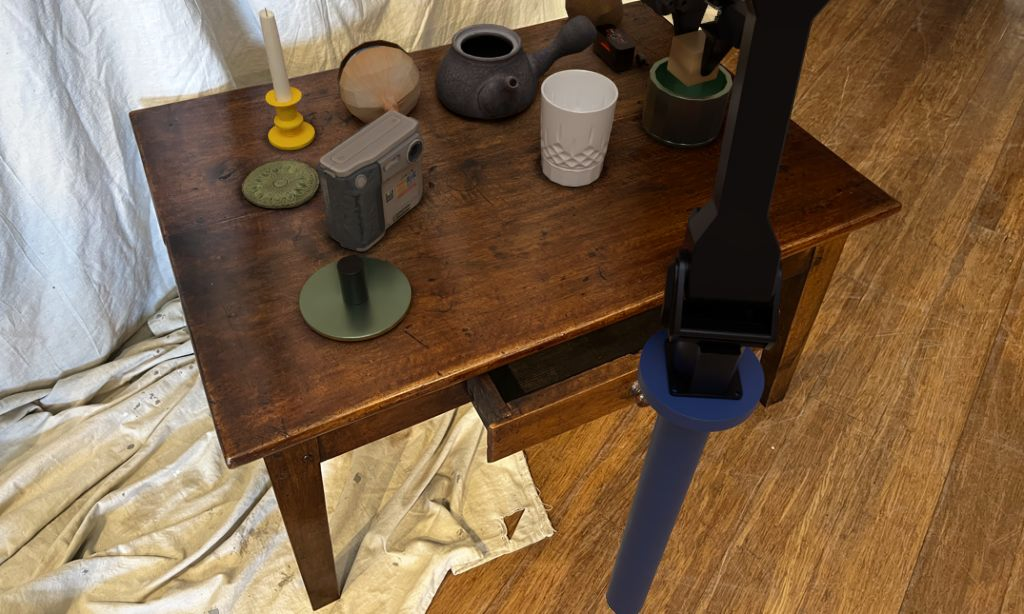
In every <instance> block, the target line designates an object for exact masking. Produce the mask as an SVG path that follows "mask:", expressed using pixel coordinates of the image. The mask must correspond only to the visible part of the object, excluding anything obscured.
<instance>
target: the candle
mask: <svg viewBox="0 0 1024 614" xmlns="http://www.w3.org/2000/svg"><path fill="white" fill-rule="evenodd" d="M258 16H259V23H260V28H261V29H260V30H261V35H262V38H263V39H262V40H263V43H264V48H265V53H266V57H267V62H268V66H269V72H270V76H271V81H272V85H273V89H271V90H269V91H267V93H266V94H265V102H266V103H267V104H268V105H270V106H272V107H275V113H276V115H275V116H274V119H273V123H274V126H273V127H272V128H270V130H269V131H268V134H267V137H268V141H269V144H270V145H271V146H273V147H274V148H276V149H279V150H282V151H296V150H301V149H303V148H306V147H307V146H309V145H310V144H311V143H312V142H313V141H314V140H315V139H316V138H315V137H316V130H315V127H314V126H313V125H312V124H310V123H309V122H307V121H304V117H303V115H302V114H301V113H300V112H299V111H298V108H297V105H296V104H297V103H298V102H300V100H301V99H302V98H303V97H302V96H303V94H302V92H301V91H300V89H299V88H296V87H294V86H291V84H290V81H289V80H290V79H289V76H288V71H287V66H286V62H285V56H284V52H283V47H282V43H281V37H280V33H279V29H278V24H277V21H276V17H275V13H274V12H273V10H270V9H267V8H266V7H264V9H260V10H259V11H258Z"/></svg>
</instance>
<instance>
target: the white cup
mask: <svg viewBox="0 0 1024 614" xmlns="http://www.w3.org/2000/svg"><path fill="white" fill-rule="evenodd" d="M618 99H619V90H618V87H617V86H616V84H615V83H614V81H613V80H611V79H610V78H609V77H607V76H605V75H603V74H601V73H599V72H595V71H591V70H586V69H566V70H561V71H557V72H555V73H552V74H551V75H549V76H547V77H546V78H545V79H544V80H543V82H542V83H541V87H540V150H541V153H540V154H541V156H540V157H541V158H540V159H541V160H540V165H541V169H542V173H543V174H544V176H545V177H546V178H548V180H549V181H550V182H553V183H555V184H558V185H560V186H563V187H572V188H573V187H574V188H577V187H578V188H579V187H583V186H587V185H590V184H591V183H593V182H595V181H597V180H598V179H599V178H600V176H601V173H602V171H603V166H604V161H605V157H606V155H607V150H608V146H609V143H610V142H609V141H610V138H611V134H612V130H613V129H612V128H613V123H614V118H615V113H616V108H617V103H618Z"/></svg>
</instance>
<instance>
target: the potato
mask: <svg viewBox="0 0 1024 614" xmlns="http://www.w3.org/2000/svg"><path fill="white" fill-rule="evenodd" d="M564 9H565V12H566V15H567V18H568V21H569V20H571V19H572V18H574V17H577V16H579V15H582V16H586V17H587V18H588V19H589V20H590V21H591V22H592V24H593V25H594V26H595V27H597V26H601V25H605V24H613V25H615V26H616V27H617V28H618V26H619V25H620V24H621V23H622V21H623V18H624V15H625V14H624V11H625V10H624V3H623V0H564Z"/></svg>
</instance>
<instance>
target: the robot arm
mask: <svg viewBox="0 0 1024 614" xmlns="http://www.w3.org/2000/svg"><path fill="white" fill-rule="evenodd" d="M639 1H640V2H641V3H642V4H644V5H646V6H648V7H649V8H650V9H651V10H652V11H654V13H655V14H656V15H657V16H660V17H666V16H671V20H672V23H673V24H672V26H673V32H674V36H678V35H682V34H686V33H690V32H694V31H698V30H703V32H704V33H705V34H706V38H705V44H704V50H703V56H702V62H701V73H700V74H701V76H702V77H704V76H708V75H710V74H711V73H712V72H713V70H714V69H715V68H716V67H717V66H718V64H719V63H720V64H721V62H722V61H723V59H725V58H726V56H727V55H728V54H729V53H730V51H731V50H732V49H733V48H734V49H735V50H739V52H738V57H737V62H736V68H735V73H734V78H733V82H732V83H733V84H732V88H731V93H730V98H729V99H730V100H729V105H728V110H727V115H726V120H725V126H724V132H723V136H722V142H721V148H720V154H719V158H718V164H717V168H716V174H715V180H714V185H713V190H712V195H711V198H710V199H709V200H708V201H707V202H706V203H705V205H703V206H702V207H694V208H693V210H692V211H691V212H690V213H689V215H688V217H687V223H686V227H685V233H684V237H683V242H682V246H681V248H676V250H675V252H674V255H672V257H671V262H670V263H669V264H667V266H666V271H665V280H664V281H665V282H664V290H663V300H662V305H661V312H660V315H659V325H660V326H661V327H663V329H664V328H665V329H666V330H667V331H668V336H669V338H666V339H665V340H664V352H665V361H666V371H667V381H668V391H669V394H670V395H671V396H674V397H688V398H706V399H723V400H740V399H741V398H742V396H743V390H742V384H741V379H740V373H739V368H738V365H739V363H740V360H741V357H742V355H743V352H744V350H745V347H749V348H756V349H762V350H765V351H766V350H768V351H770V350H771V349H772V348H773V347H774V346H775V344H776V343H777V340H778V331H779V330H778V328H779V319H780V318H779V317H780V307H781V295H782V285H783V284H782V283H783V263H782V262H783V261H782V253H783V252H782V248H781V246H780V243H779V241H778V238H777V236H776V233H775V231H774V227H773V225H772V222H771V220H770V217H769V216H770V210H771V206H772V202H773V197H774V193H775V188H776V184H777V180H778V176H779V170H780V166H781V161H782V158H783V154H784V148H785V146H786V145H785V144H786V140H787V136H788V131H789V128H790V122H791V118H792V113H793V109H794V105H795V100H796V96H797V92H798V87H799V84H800V83H799V82H800V79H801V74H802V70H803V65H804V61H805V57H806V52H807V48H808V43H809V39H810V34H811V30H812V26H813V22H814V20H815V19H816V18H817V17H818V15H820V13H821V12H822V11H823V10H824V9H825V8H826V7H827V6H828V4H829V3H830V2H831V1H832V0H639ZM708 7H711V8H712V9H713V10H715V11H717V12H716V15H715V16H714V19H713V20H710V21H706V22H703V21H704V17H705V14H706V12H707V9H708ZM667 342H670V343H671V344H669V343H667ZM673 390H676V391H677V392H674V391H673ZM735 393H737V394H739V395H736V394H735Z"/></svg>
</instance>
